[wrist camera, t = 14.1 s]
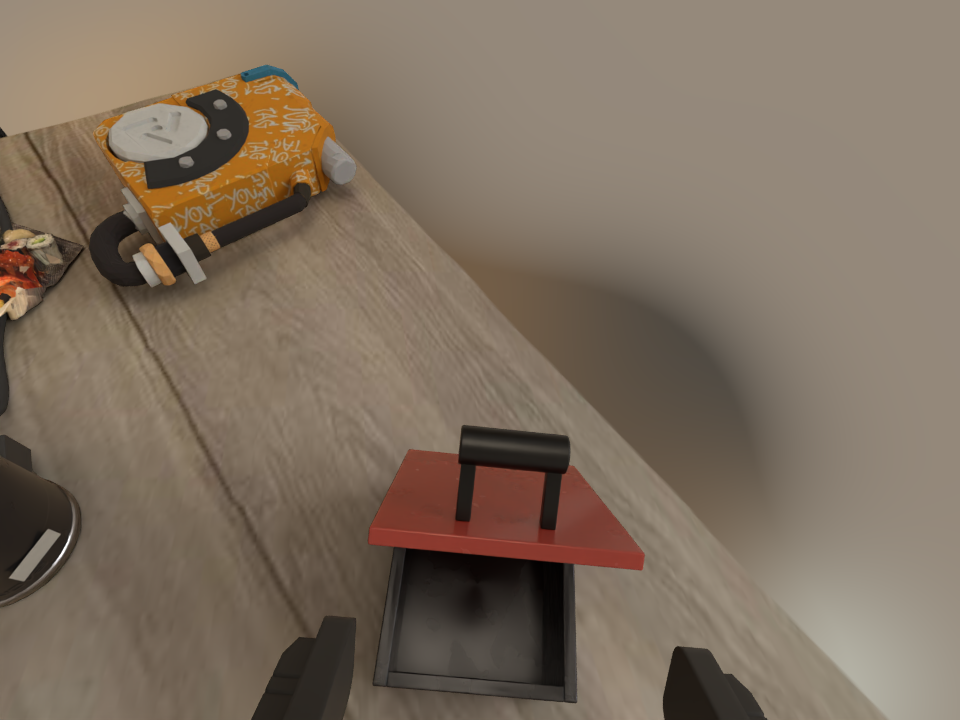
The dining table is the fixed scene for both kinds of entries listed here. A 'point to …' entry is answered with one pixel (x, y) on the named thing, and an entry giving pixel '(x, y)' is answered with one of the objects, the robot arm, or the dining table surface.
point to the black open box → (479, 626)
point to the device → (212, 172)
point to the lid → (502, 503)
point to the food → (30, 266)
